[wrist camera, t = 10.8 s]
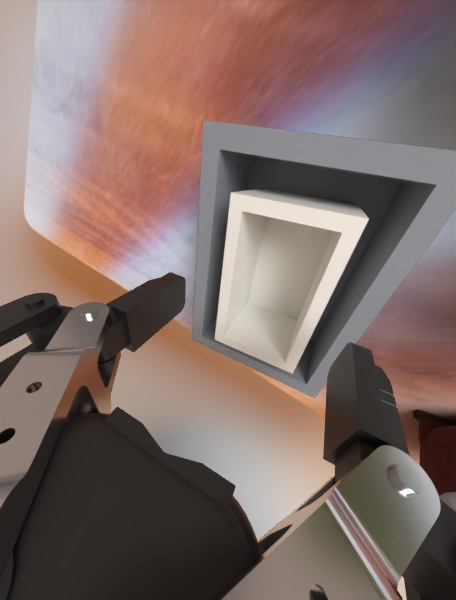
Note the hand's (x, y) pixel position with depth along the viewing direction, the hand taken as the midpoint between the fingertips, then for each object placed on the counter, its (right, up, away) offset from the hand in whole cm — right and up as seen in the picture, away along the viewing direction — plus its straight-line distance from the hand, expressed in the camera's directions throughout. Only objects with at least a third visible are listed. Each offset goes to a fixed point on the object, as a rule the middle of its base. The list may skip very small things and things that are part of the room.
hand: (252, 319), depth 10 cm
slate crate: (+4, +4, +7) cm, 9 cm away
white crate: (+4, +4, +7) cm, 8 cm away
